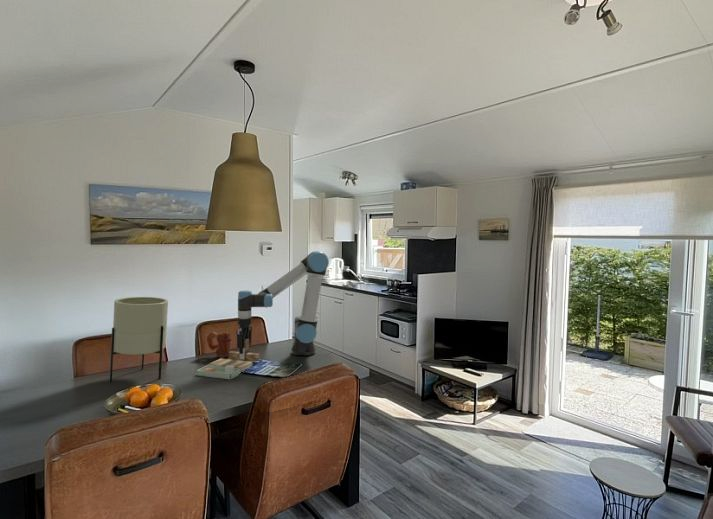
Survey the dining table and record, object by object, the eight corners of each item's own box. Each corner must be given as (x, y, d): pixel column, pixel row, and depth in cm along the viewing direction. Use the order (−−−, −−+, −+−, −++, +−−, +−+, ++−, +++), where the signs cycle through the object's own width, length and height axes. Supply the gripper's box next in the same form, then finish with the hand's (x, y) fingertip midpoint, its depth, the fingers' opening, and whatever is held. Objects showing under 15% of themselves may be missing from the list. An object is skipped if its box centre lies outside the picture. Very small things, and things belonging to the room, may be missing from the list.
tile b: (210, 370, 203) (210, 374, 203) (215, 368, 207) (215, 371, 207) (203, 369, 204) (203, 373, 204) (208, 367, 208) (208, 371, 208)
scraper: (259, 360, 227) (259, 339, 227) (256, 362, 223) (256, 341, 223) (232, 357, 232) (232, 337, 232) (228, 359, 228) (228, 338, 228)
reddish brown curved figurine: (233, 355, 240) (234, 330, 239) (228, 359, 232) (228, 333, 231) (210, 354, 241) (211, 329, 241) (204, 358, 233) (204, 332, 233)
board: (252, 367, 217) (252, 361, 217) (241, 373, 207) (241, 367, 207) (220, 363, 222) (220, 358, 222) (208, 369, 212) (208, 363, 212)
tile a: (234, 365, 205) (232, 366, 203) (234, 373, 205) (232, 374, 203) (227, 365, 206) (225, 366, 204) (227, 372, 206) (225, 373, 204)
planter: (142, 389, 184) (147, 306, 183) (98, 381, 189) (102, 301, 187) (175, 373, 207) (179, 299, 206) (135, 367, 212) (139, 295, 210)
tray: (241, 373, 206) (241, 368, 206) (230, 379, 197) (230, 374, 197) (208, 369, 211) (208, 364, 211) (196, 375, 202) (196, 370, 202)
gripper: (246, 314, 236) (246, 353, 237) (230, 319, 220) (230, 361, 220) (258, 315, 234) (257, 354, 235) (242, 320, 218) (242, 362, 218)
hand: (244, 357), depth 228 cm, fingers closed on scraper, 4 cm apart
